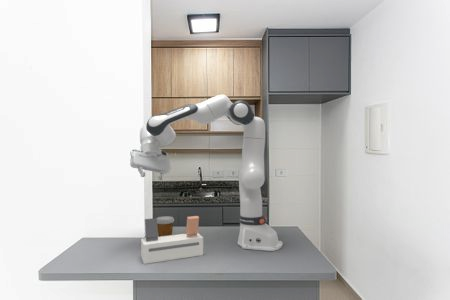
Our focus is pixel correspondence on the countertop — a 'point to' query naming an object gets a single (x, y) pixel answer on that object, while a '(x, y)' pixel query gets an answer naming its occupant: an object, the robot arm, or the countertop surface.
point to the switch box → (171, 248)
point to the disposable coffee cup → (165, 225)
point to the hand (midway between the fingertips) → (152, 178)
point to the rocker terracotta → (192, 225)
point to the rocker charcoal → (151, 229)
